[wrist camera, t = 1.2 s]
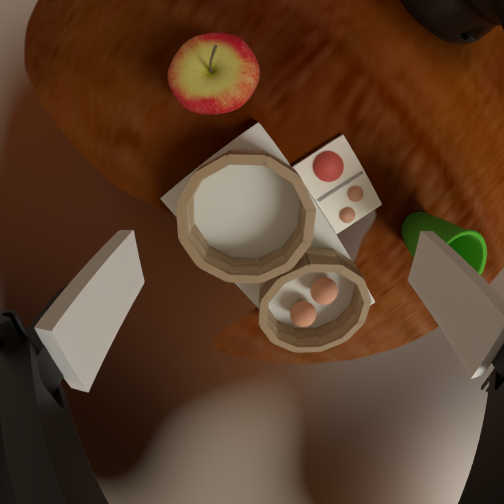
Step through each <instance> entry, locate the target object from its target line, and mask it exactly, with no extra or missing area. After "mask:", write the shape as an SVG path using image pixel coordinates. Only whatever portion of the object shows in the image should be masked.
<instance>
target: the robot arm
mask: <svg viewBox="0 0 504 504" xmlns="http://www.w3.org/2000/svg"><path fill="white" fill-rule="evenodd" d="M402 2H403V3H404V5H405V6H406V7H407V9H408V10H409V11H410V12H411V14H412V15H413V16H414V17H415V18H416V19H417V20H418V21H419V22H420V23H421V24H422V25H423V26H424V27H425V28H427V29H428V30H429V31H430V32H432V33H433V34H435V35H436V36H438V37H439V38H441V39H443V40H445V41H447V42H450V43H454V44H467V43H473V42H476V41H478V40H480V39H481V38H482V37H483V36H485V35H486V34H487V33H488V32H490V31H491V30H492V29H493V28H494V27H496V26H498V25H502V27H503V29H504V0H402ZM408 282H409V283H410V284H411V286H412V287H413V289H414V290H415V291H416V293H417V294H418V296H419V297H420V298H421V300H422V301H423V303H424V304H425V306H426V307H427V309H428V310H429V312H430V313H431V315H432V316H433V318H434V319H435V321H436V322H437V324H438V325H439V327H440V328H441V330H442V331H443V333H444V334H445V336H446V337H447V339H448V341H449V342H450V344H451V346H452V347H453V349H454V351H455V352H456V354H457V356H458V357H459V359H460V361H461V363H462V364H463V366H464V368H465V370H466V372H467V373H468V375H469V377H470V379H472V378H475V377H478V376H481V375H483V374H484V373H485V372H486V370H487V369H488V367H489V366H490V364H491V363H492V364H493V366H494V370H493V371H492V372H491V374H490V375H489V377H488V378H487V379H486V381H485V382H484V383H483V385H482V387H481V389H482V390H483V389H484V387H485V386H486V385H487V384H489V387H488V388H487V389H486V391H487V392H488V398H487V404H486V410H485V415H484V421H483V426H482V431H481V434H480V439H479V443H478V447H477V450H476V454H475V457H474V461H473V464H472V467H471V470H470V473H469V477H468V479H467V482H466V485H465V487H464V490H463V493H462V495H461V498H460V500H459V503H458V504H504V300H503V299H502V298H501V296H500V295H499V294H498V293H497V292H496V291H495V290H494V289H493V288H492V287H491V286H490V285H489V284H488V283H487V282H486V281H485V279H484V278H483V277H482V276H481V275H480V274H479V273H478V272H477V271H476V270H475V269H474V268H473V267H471V266H470V265H469V264H468V263H467V262H466V261H465V260H464V259H463V258H462V257H461V256H460V255H459V254H458V253H457V252H456V251H455V250H453V249H452V248H451V247H450V246H449V245H448V244H447V243H446V242H445V241H443V240H442V239H441V238H440V237H439V236H438V235H436V234H435V233H434V232H433V231H421V232H420V236H419V240H418V244H417V248H416V252H415V256H414V260H413V264H412V267H411V271H410V274H409V278H408ZM143 284H144V278H143V273H142V269H141V265H140V260H139V255H138V251H137V246H136V241H135V235H134V230H120V231H118V232H117V233H116V234H115V235H114V236H113V237H112V238H111V239H110V240H109V241H108V242H107V243H106V244H105V245H104V246H103V247H102V248H101V249H100V251H98V252H97V254H96V255H95V256H94V257H93V258H92V259H91V260H90V261H89V262H88V263H87V264H86V266H84V268H83V269H82V270H81V271H80V272H79V273H78V274H77V276H76V277H75V278H74V279H73V280H72V281H71V282H70V284H69V285H66V286H65V287H64V288H62V289H61V290H60V291H58V292H57V293H56V294H55V295H54V297H53V298H52V299H51V302H49V303H48V304H47V305H46V306H45V309H43V310H42V311H41V312H40V314H39V315H38V316H37V318H36V319H35V320H34V321H33V323H32V324H31V325H30V327H29V328H28V329H27V330H26V329H25V327H24V325H23V323H22V322H21V319H20V318H19V316H18V314H17V312H16V311H14V310H5V311H2V312H0V504H109V503H108V501H107V500H106V498H105V496H104V494H103V492H102V490H101V488H100V486H99V484H98V482H97V480H96V478H95V476H94V473H93V471H92V469H91V467H90V465H89V462H88V460H87V458H86V455H85V453H84V450H83V448H82V445H81V442H80V440H79V437H78V435H77V432H76V429H75V426H74V423H73V420H72V417H71V414H70V410H69V407H68V404H67V400H66V397H65V393H64V390H63V388H62V386H61V385H60V382H61V380H62V379H63V377H64V378H65V380H66V381H67V382H68V384H69V385H70V386H71V388H74V389H78V390H82V391H85V392H89V390H90V387H91V385H92V383H93V381H94V379H95V376H96V374H97V372H98V370H99V368H100V366H101V364H102V362H103V360H104V358H105V356H106V354H107V352H108V350H109V348H110V346H111V344H112V342H113V340H114V337H115V335H116V334H117V332H118V330H119V328H120V326H121V324H122V322H123V320H124V319H125V317H126V315H127V313H128V311H129V309H130V307H131V305H132V304H133V302H134V300H135V298H136V297H137V295H138V293H139V291H140V289H141V288H142V286H143Z"/></svg>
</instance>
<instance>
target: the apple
mask: <svg viewBox="0 0 504 504" xmlns="http://www.w3.org/2000/svg"><path fill="white" fill-rule="evenodd" d="M259 76H260V69H259V64H258V61H257V59H256V57H255V55H254V53H253V52H252V50H251V49H250V48H249V46H248V45H247V44H246V43H245V42H244V41H243V40H242V39H240V38H239V37H237V36H235V35H232V34H228V33H206V34H202V35H198V36H195V37H193V38H191V39H189V40H188V41H187V42H185V43H184V44H183V45H182V46H181V48H180V49H179V50H178V51H177V53H176V54H175V56H174V58H173V60H172V62H171V64H170V67H169V70H168V83H169V87H170V89H171V91H172V93H173V95H174V97H175V98H176V99H177V101H178V102H179V103H180V104H181V105H182V106H183V107H185V108H186V109H187V110H189V111H191V112H194V113H199V114H222V113H227V112H231V111H234V110H236V109H238V108H240V107H241V106H242V105H244V104H245V103H246V102H247V100H248V99H249V98H250V97H251V95H252V94H253V92H254V90H255V88H256V86H257V84H258V81H259Z"/></svg>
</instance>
